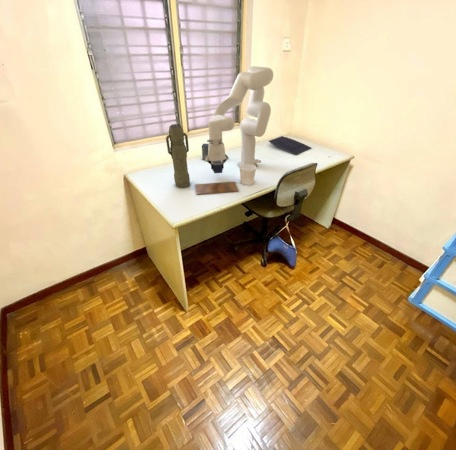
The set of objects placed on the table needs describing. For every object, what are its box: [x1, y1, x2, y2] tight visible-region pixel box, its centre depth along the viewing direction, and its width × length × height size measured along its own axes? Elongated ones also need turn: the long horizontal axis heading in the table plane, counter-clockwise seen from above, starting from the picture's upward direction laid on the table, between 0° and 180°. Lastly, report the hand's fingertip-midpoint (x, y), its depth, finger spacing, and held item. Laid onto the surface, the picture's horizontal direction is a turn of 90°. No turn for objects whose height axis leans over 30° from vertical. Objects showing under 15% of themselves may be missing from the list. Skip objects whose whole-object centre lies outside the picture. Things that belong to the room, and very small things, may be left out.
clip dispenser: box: [213, 161, 223, 174], centre depth 157 cm, size 5×8×6 cm, turn 11°
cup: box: [239, 164, 257, 186], centre depth 154 cm, size 10×10×10 cm
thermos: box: [165, 123, 191, 189], centre depth 143 cm, size 9×12×35 cm
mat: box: [195, 181, 239, 196], centre depth 150 cm, size 24×12×1 cm, turn 101°
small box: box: [201, 143, 209, 161], centre depth 185 cm, size 11×6×10 cm, turn 84°
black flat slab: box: [268, 135, 312, 156], centre depth 210 cm, size 24×30×4 cm
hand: (217, 169), depth 159 cm, fingers closed on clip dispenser, 5 cm apart
